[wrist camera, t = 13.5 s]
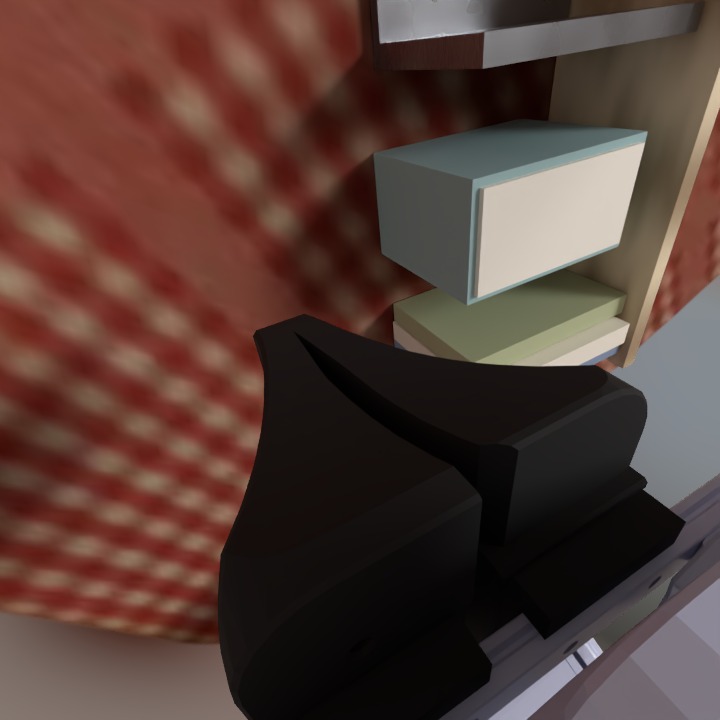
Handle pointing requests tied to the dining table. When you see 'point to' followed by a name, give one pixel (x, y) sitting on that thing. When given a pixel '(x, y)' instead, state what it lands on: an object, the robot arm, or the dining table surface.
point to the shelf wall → (662, 146)
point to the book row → (517, 323)
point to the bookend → (508, 31)
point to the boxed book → (505, 202)
